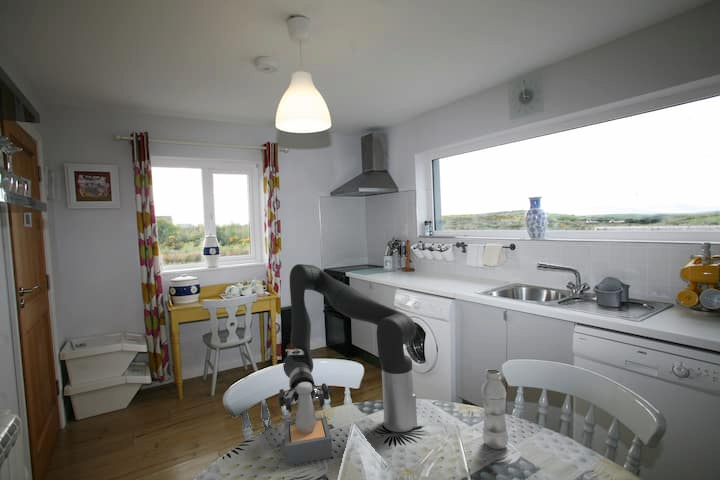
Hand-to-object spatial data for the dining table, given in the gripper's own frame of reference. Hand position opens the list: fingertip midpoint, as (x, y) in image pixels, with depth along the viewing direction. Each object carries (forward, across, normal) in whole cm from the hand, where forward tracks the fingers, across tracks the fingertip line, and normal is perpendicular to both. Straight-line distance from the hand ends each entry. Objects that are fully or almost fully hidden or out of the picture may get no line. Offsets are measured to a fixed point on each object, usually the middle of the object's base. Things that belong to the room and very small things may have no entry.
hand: (305, 405), depth 101 cm
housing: (-1, 0, +12) cm, 12 cm away
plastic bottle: (+13, +49, +12) cm, 52 cm away
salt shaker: (-1, 0, +8) cm, 8 cm away
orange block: (-1, 0, +11) cm, 11 cm away
